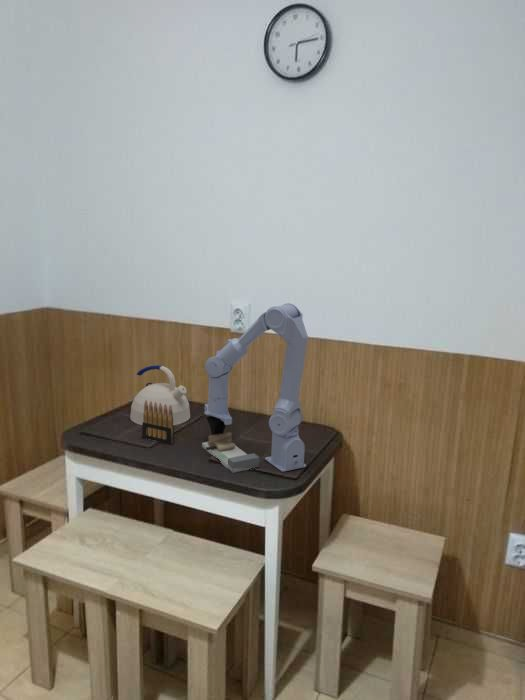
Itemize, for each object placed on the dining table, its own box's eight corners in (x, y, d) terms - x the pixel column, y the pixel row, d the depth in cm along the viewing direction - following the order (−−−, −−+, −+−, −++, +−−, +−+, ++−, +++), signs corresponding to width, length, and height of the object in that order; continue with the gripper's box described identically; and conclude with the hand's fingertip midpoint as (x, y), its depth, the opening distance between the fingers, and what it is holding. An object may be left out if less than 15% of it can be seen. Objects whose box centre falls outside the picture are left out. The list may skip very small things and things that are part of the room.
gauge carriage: (237, 447, 156) (238, 437, 155) (209, 452, 151) (209, 442, 150) (229, 441, 160) (229, 432, 159) (201, 446, 155) (202, 436, 155)
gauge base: (259, 467, 146) (259, 457, 146) (232, 473, 142) (233, 462, 142) (226, 442, 163) (226, 432, 162) (202, 446, 159) (202, 437, 159)
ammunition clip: (141, 438, 164) (141, 400, 161) (145, 436, 166) (145, 398, 163) (171, 444, 160) (171, 406, 157) (174, 442, 161) (174, 404, 159)
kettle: (165, 432, 170) (165, 376, 166) (116, 419, 180) (115, 366, 176) (203, 415, 187) (203, 364, 183) (157, 404, 197) (157, 356, 193)
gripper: (195, 391, 160) (195, 434, 163) (216, 405, 148) (215, 451, 151) (217, 388, 164) (216, 430, 167) (239, 401, 152) (237, 447, 155)
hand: (217, 440), depth 159 cm, fingers closed
